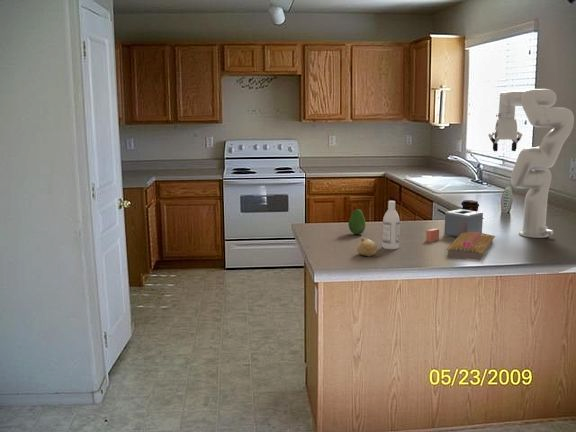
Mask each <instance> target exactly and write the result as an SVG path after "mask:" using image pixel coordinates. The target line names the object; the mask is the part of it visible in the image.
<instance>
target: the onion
mask: <svg viewBox="0 0 576 432" xmlns="http://www.w3.org/2000/svg"><path fill="white" fill-rule="evenodd" d="M377 250H378V247H377V245H376V242H374V241H373V240H371V239H368V238H367V237H365V238H364V237H361V238H360V242H359V243H357V246H356V251H357V252H358V254H359V255H361V256H365V257H372V256H374V255H375V254H376V253H377Z"/></svg>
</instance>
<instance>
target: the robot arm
mask: <svg viewBox="0 0 576 432" xmlns="http://www.w3.org/2000/svg"><path fill="white" fill-rule="evenodd" d="M557 99H558V98H557V94H556V93H555V91H553V90H551V89H548V88H528V89H525V90H522V89H521V90H519V89H518V90H512V89H511V90H507V91H501V92H500V93H499V103H498V105H499V106H498V113H496V115H495V117H496V118H497V119H496V123H495V127H494V131H493V132H490V133H489V134H488V137H489V140H490V141H491V143H492V150H493V152H498V146H499V144H498V142H499V141H501V140H505V141H506V140H508V141H509V140H511V141H512V142H511V152H516V150H517V146H518V142H520V141H521V139H522V136H523V133H521V132H519V131H518V124H517V123H518V122H517V119H516V118H515V117H516V115H515V114H516V107H522V109H523V111H524V113H525V115H526V117H527V119H528V122H529V123H530V125H532V127H534V128H552V129H551V130H549V131H548V132H547V133H546V134H545V135H544V136H543V138H542V140H541V142H540V144H539V145H538V146H536V147H534V146H530V147H529V146H527V147H525V148H523V149H522V150H521V151H520V152H519V153H518V156H517V159H516V161H515V163H514V167H513V169H512V171H511V175H510V183H511V186H512V187H514V188H516V189H528V190H527V192H526V195H525V196H524V206H523V207H524V208H523V222H522V223H523V225H522V226H523V227H522V230H520V231H519V232H518V235H519V236H521V237H525V238H534V239H544V238H548V237H549V235H550V236H551V235H554V230H553V229H548V227H549V226H546V223H547V209H548V199H549V191H550V186H551V182H552V180H553V179H552V172H551V170H550V168H552V167H553V166H554V165H555V164H556V162H557V159H558V157H559V155H560V153H561V150H562V147H563V145H564V144H565V142H566V140H567V139H568V137H570V134H571V133H572V131H573V128H574V123H575V116H574V113H573V111H572V110H571V109H570V108H567V107H560V106H556V107H555V106H554V105H555V104H556V102H557ZM493 136H494V137H493Z"/></svg>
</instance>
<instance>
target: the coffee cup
mask: <svg viewBox="0 0 576 432" xmlns="http://www.w3.org/2000/svg"><path fill="white" fill-rule="evenodd" d="M478 202H479V201H477V200H473V199H463V201H461V203H460V204H461V206H462V207H461V209H463V210H470V211H477V212H479V207H480V204H479V203H478Z"/></svg>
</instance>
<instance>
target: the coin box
mask: <svg viewBox="0 0 576 432" xmlns="http://www.w3.org/2000/svg"><path fill="white" fill-rule="evenodd" d="M444 213H445V214H444V232H443V233H444V235H443V236H445V235H446V236H445V237H450V236H451V238H455V239H456V238H457V237H459V235H460V234H461V233H467V232H479V233H483V224H484V223H483V218H484V212H483V211H478V212H477V211H470V210H463V209H462V208H458V209H455V210H454V209H453V210H449V211H445V212H444ZM468 235H469V234H468Z"/></svg>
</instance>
